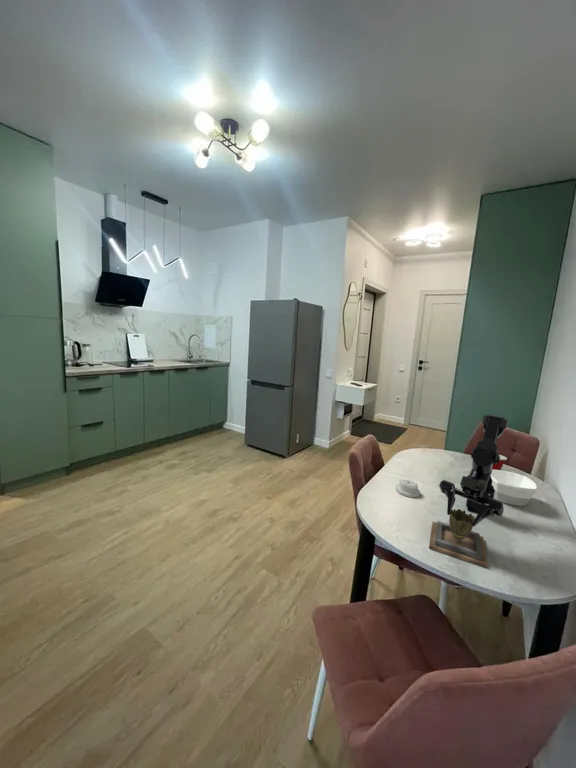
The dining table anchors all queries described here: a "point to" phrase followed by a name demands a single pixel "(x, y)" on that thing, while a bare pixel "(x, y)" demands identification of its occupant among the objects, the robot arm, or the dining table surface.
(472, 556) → the holder board
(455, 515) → the cup
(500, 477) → the bowl
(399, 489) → the mechanical component
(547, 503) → the dining table surface
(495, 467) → the plastic cup
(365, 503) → the dining table surface
